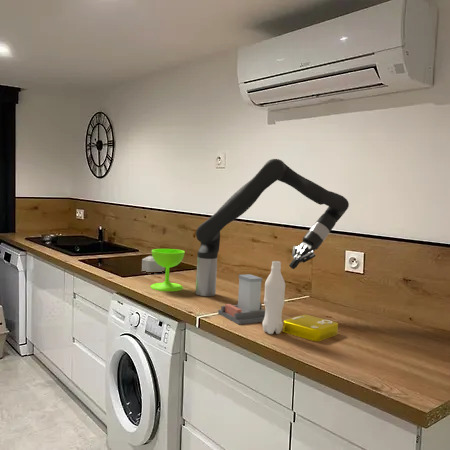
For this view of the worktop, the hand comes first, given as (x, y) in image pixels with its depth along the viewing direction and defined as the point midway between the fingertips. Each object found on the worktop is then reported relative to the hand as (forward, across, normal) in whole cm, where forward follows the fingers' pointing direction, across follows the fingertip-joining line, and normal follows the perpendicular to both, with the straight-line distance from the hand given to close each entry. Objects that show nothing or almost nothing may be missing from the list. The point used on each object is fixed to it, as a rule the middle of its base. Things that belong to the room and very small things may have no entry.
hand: (291, 267), depth 196 cm
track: (+27, +3, -4) cm, 28 cm away
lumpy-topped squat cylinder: (+33, -98, 0) cm, 103 cm away
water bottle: (+28, +23, -7) cm, 37 cm away
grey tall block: (+26, +3, -5) cm, 27 cm away
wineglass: (+37, -55, -9) cm, 67 cm away
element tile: (+20, +28, +3) cm, 34 cm away
